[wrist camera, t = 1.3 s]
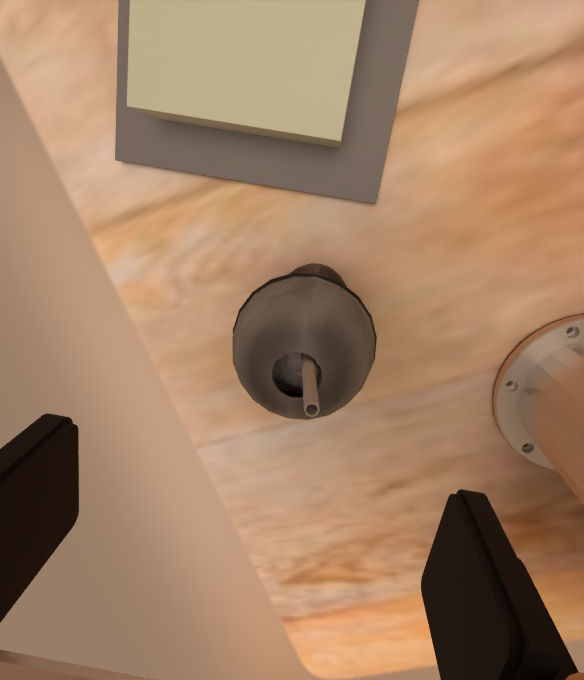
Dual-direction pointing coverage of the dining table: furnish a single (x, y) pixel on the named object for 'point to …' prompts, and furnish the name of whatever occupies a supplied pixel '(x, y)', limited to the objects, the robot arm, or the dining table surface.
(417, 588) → the dining table surface
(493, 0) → the dining table surface
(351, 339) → the beverage cup
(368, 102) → the plinth
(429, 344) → the dining table surface
